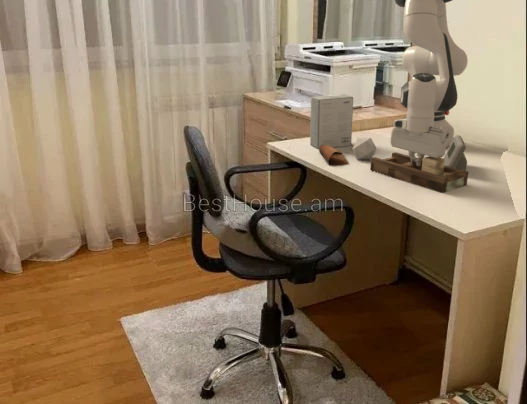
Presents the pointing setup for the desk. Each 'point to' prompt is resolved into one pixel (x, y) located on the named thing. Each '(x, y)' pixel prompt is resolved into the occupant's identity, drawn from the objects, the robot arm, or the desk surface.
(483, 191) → the desk surface
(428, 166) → the maple cube
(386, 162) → the track
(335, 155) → the sunglasses case
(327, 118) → the hard drive box
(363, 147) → the die
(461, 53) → the robot arm
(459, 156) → the digital clock
